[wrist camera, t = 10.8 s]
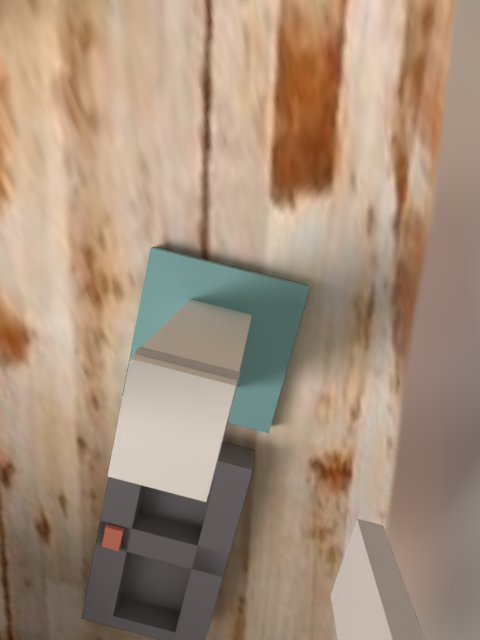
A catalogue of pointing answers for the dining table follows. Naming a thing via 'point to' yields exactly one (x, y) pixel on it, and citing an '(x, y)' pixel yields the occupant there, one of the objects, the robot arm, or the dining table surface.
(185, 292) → the pad
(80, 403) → the dining table surface
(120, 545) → the power strip
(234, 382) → the block
